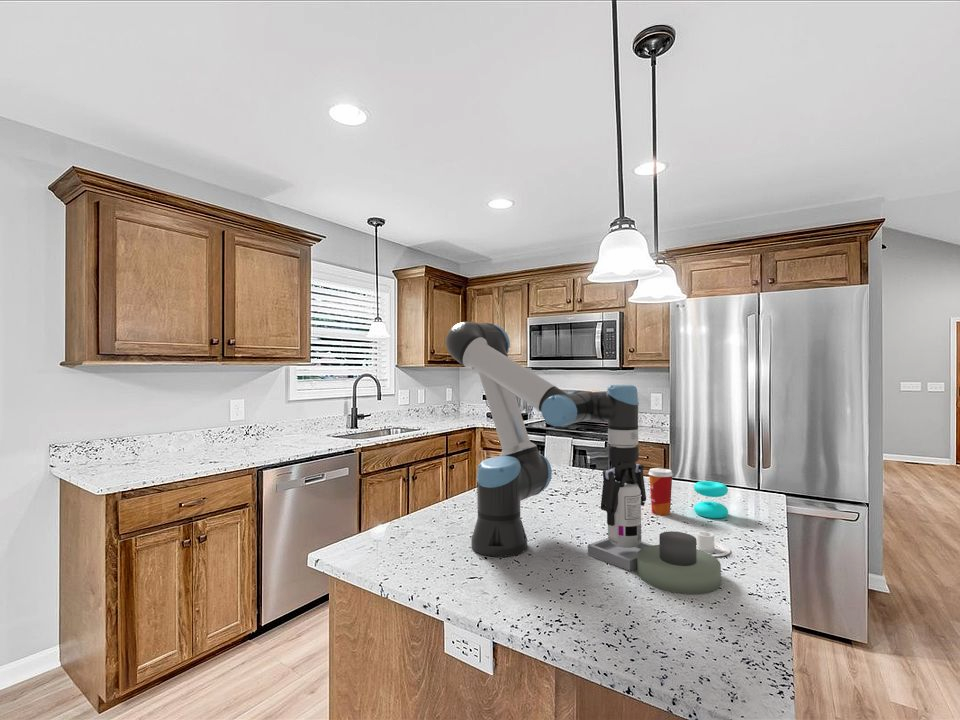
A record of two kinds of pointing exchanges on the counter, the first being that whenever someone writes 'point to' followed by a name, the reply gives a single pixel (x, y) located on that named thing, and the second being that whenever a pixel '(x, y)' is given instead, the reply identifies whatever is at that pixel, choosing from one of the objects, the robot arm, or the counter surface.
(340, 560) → the counter surface
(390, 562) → the counter surface
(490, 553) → the robot arm
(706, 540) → the candle holder
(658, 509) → the paper cup
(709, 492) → the donuts
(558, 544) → the counter surface
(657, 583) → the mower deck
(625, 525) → the supplement can
